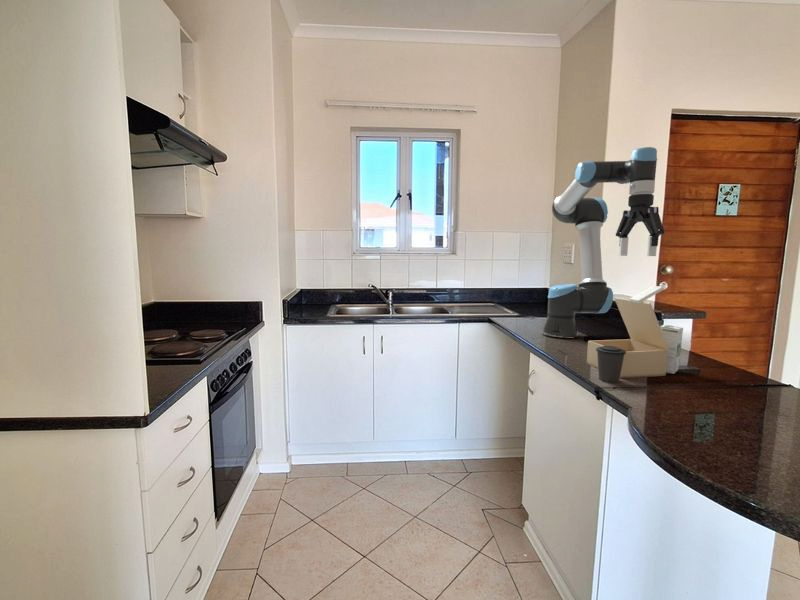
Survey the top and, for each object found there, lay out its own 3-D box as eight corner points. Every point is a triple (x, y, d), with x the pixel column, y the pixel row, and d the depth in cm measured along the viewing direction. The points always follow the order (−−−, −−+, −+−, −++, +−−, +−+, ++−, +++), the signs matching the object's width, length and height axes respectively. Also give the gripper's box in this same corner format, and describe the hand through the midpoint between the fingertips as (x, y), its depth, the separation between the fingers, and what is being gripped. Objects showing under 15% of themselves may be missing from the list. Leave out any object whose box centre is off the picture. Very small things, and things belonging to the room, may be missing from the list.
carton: (586, 363, 136) (588, 340, 135) (628, 361, 139) (630, 339, 138) (618, 378, 120) (620, 352, 119) (665, 375, 123) (667, 350, 122)
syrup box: (657, 367, 132) (661, 324, 130) (679, 371, 128) (683, 326, 126) (653, 370, 128) (657, 326, 126) (675, 374, 124) (679, 328, 122)
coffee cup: (630, 383, 115) (633, 350, 114) (605, 384, 114) (607, 351, 113) (612, 375, 123) (614, 343, 122) (588, 376, 122) (590, 344, 121)
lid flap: (611, 296, 134) (634, 283, 135) (629, 339, 137) (651, 327, 138) (646, 301, 119) (671, 287, 120) (665, 350, 122) (689, 336, 123)
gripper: (607, 199, 150) (604, 255, 152) (660, 188, 125) (654, 256, 128) (625, 199, 151) (621, 255, 153) (681, 189, 126) (675, 256, 129)
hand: (636, 256), depth 141 cm, fingers open, 13 cm apart
